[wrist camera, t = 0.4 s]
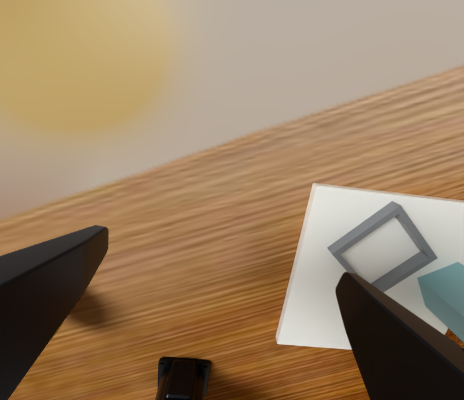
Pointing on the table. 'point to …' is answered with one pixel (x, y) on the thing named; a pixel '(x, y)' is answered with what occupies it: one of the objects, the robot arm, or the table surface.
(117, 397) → the table surface
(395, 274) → the socket
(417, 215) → the baseplate
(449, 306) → the post
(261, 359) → the table surface
